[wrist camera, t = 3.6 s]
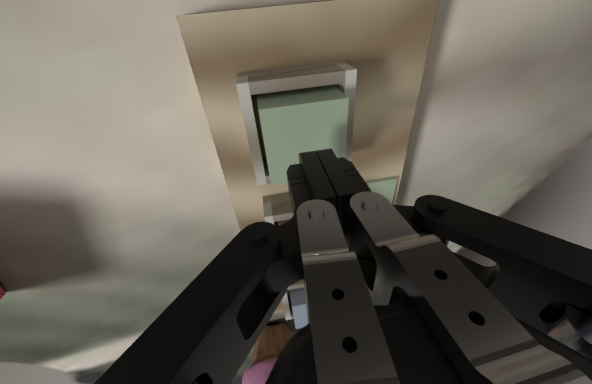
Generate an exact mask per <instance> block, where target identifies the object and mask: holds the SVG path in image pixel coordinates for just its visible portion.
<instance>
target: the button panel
mask: <svg viewBox="0 0 592 384" xmlns="http://www.w3.org/2000/svg"><path fill="white" fill-rule="evenodd" d="M438 2H439V0H330V1H320V2H310V3H299V4H289V5H279V6H269V7H259V8H249V9H239V10H229V11H219V12H208V13H198V14H188V15H180V16H176V18H177V21H178V24H179V28H180V31H181V34H182V38H183V41H184V44H185V48H186V51H187V54H188V58H189V61H190V64H191V67H192V71H193V74H194V77H195V81H196V84H197V87H198V91H199V94H200V97H201V101H202V104H203V107H204V111H205V114H206V117H207V120H208V124H209V127H210V130H211V134H212V137H213V140H214V144H215V147H216V150H217V154H218V157H219V160H220V163H221V167H222V170H223V173H224V177H225V180H226V183H227V187H228V190H229V193H230V197H231V200H232V203H233V206H234V210H235V213H236V216H237V220H238V223H239V226H240V230H242V229H243V228H245V227H246V226H248V225H250V224H252V223H255V222H269V223H272V224H274V225H275V226H278V221H283V220H289V219H291V218H292V217H293V211H292V207H291V202H290V198H289V189H288V183H283V184H277V185H271V181H270V175H269V170H268V164H267V158H266V152H265V146H264V140H263V134H262V129H261V123H260V117H259V111H258V103H257V95H264V94H272V93H279V92H287V91H295V90H303V89H311V88H319V87H327V86H336V87H337V88H338V89H339V90H340V91H342V92H343V93H344V94H345V95H346V96H347V97H348V98H349V102H348V123H347V144H346V159H348V160H349V161H351V162H352V163H353V165H354V166H355V167H356V170H358V172H359V173H360V175H361V176H362V178H363V179H364V181H365V182H366V184H367V185H368V187H369V188H370V190H371V191H372V192H375V193H378V194H381V195H383V196H384V197H386V198H387V199H388V200H389V202H390V203H391V204H392V205H395V204H396V199H397V194H398V190H399V185H400V180H401V176H402V171H403V166H404V161H405V157H406V152H407V147H408V143H409V138H410V133H411V129H412V124H413V119H414V114H415V110H416V105H417V100H418V96H419V91H420V86H421V82H422V77H423V72H424V67H425V63H426V58H427V53H428V49H429V44H430V39H431V35H432V30H433V25H434V21H435V16H436V11H437V6H438ZM303 287H304V282H303V279H302V280H300V281H298V282H296V283H294V284H292V285H291V286H289V287H288V289H287V292H286V294H285V295H284V297H283V299H282V300H281V302H280V303H279V305H278V307H277V308H276V310H275V312H274V313H273V314H276V313H281V312H284V313H285V318H286V320H291V319H294V316H293V310H292V304H291V298H290V291H289V290H292V289H297V288H303Z"/></svg>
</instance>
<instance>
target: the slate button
mask: <svg viewBox="0 0 592 384" xmlns="http://www.w3.org/2000/svg"><path fill="white" fill-rule="evenodd" d="M289 291H290V298H291V304H292V310H293V316H294V322H295V328H296V329H299V328H303V327H304V326H306V325H307V324H308V317H307V308H306V299H305V291H304V287H303V288H297V289H292V290H289Z"/></svg>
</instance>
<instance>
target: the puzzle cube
mask: <svg viewBox="0 0 592 384" xmlns="http://www.w3.org/2000/svg"><path fill="white" fill-rule="evenodd" d="M5 293H6V292H5V290H4V289H3V288H2V287H1V285H0V299H1V298H2V297H3V296H4V295H5Z"/></svg>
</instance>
